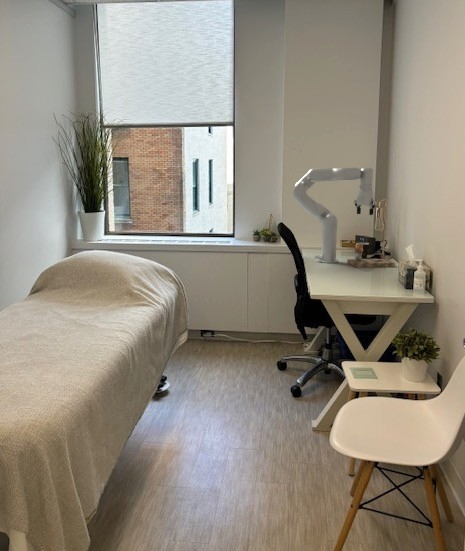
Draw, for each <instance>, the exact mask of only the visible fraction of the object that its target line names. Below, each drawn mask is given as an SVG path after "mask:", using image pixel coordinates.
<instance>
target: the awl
mask: <svg viewBox="0 0 465 551" xmlns="http://www.w3.org/2000/svg"><path fill="white" fill-rule="evenodd" d="M354 248H355V249H354V252H355V259H356V261H357V262H361V259H362V258H361V257H362V252H363V244H356V243H355V246H354Z"/></svg>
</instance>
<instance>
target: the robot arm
mask: <svg viewBox="0 0 465 551" xmlns="http://www.w3.org/2000/svg"><path fill="white" fill-rule="evenodd" d="M373 176H374V170H373V168H371V167H363V168H360V167H359V168H358V167H324V168H323V167H320V168H318V167H317V168H311V169H309V170H308V171H307V173H305V175H304V176H303V177H302V178H300V179H299V180H298V181H297V182H296V183H295V184H294V187H293V190H292V194H293V195H292V196H293V198H294V200H295V202H296V203H297V204H298V206H300V207H301V208H302V209H303V210H305V211H306V212H307V213H308V214H309V215H310V216H312V217H313V218H315V219H316V220H317V221H319V222H320V223H321V226H322V228H321V231H322V232H321V253H320V254H319V255H314V256H313V258H314V259H317V260H318V262H320V263H325V264H334V263H338V262H339V259H337V241H338V240H337V239H338V222H339V221H338V217H337V215H336V214H335V213H333V212H332V211H330V210H329V209H328V208H327V207H326V206H324V205H323V204H322V203H319V202H317V201H316V200H314V199H313V198H312V197H311V196H309V195H308V193H307V191H308V190H309V189H310V188H311V187H313V185H314V184H316V183H317V182H319V183H320V182H336V181H337V182H338V181H355V180H360V184H359V186H358V188H359V189H358V192H357V197H356V199H355V200H353V203H354V206H355V207H356V215H360V214H361V211H362V208H361V207H362V206H364V207H365V206H368V207H369V211H368V212H369V213H368V215H369V216H373V215H374V209H375V208H376V206H377V204H378V201H376V200H375V198H374V190H373Z"/></svg>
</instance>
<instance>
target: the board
mask: <svg viewBox="0 0 465 551" xmlns="http://www.w3.org/2000/svg"><path fill="white" fill-rule="evenodd" d="M346 260H347V261H346V262H347V264H348V265H349V266H352V267H353V268H395V267H396V263H395V262H394V261H391V260H390V259H387V258H365V259H362V258H361V262H357V261H356V258H350V259H349V258H348V259H346Z"/></svg>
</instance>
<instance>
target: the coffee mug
mask: <svg viewBox="0 0 465 551" xmlns="http://www.w3.org/2000/svg"><path fill="white" fill-rule="evenodd" d="M355 244H363V252H362V257H361V259H362V258H363V259H364V258H365V259H368V255H369V254H371V253H372V252H373V251H374V250H375V247H374V246H373V245H370V243H369V242H356V243H355ZM371 247H372V248H373V249H372V251H370V252H368V251H369V249H370V248H371Z"/></svg>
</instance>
